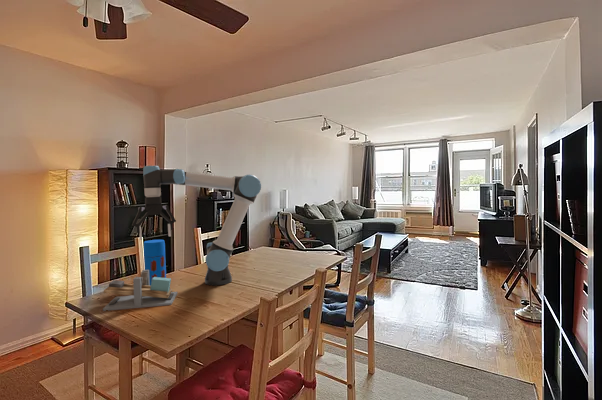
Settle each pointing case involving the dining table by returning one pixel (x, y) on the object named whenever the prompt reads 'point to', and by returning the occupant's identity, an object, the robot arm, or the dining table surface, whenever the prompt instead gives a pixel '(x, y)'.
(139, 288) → the stand
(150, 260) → the thermos
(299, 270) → the dining table surface
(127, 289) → the beam
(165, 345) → the dining table surface
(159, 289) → the block
